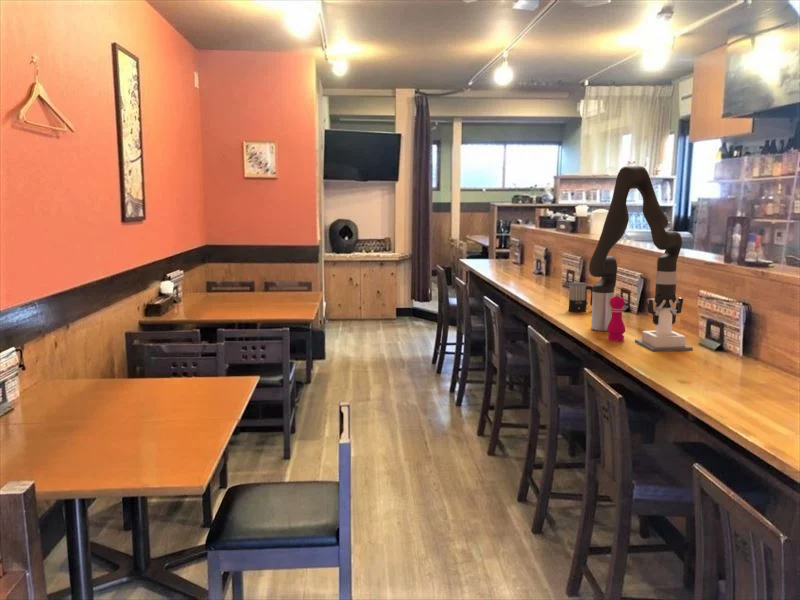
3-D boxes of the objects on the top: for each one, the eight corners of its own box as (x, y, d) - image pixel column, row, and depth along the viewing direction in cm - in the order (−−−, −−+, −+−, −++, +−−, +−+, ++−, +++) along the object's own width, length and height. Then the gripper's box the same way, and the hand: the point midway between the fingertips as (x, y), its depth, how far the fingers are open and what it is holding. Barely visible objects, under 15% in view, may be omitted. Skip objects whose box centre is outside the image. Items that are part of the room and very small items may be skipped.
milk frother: (573, 312, 321) (573, 284, 318) (558, 307, 336) (559, 280, 333) (597, 311, 324) (598, 283, 321) (582, 306, 339) (583, 279, 336)
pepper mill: (622, 337, 263) (624, 291, 260) (626, 341, 256) (628, 294, 253) (605, 337, 264) (606, 291, 260) (609, 341, 257) (610, 294, 253)
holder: (634, 341, 255) (635, 330, 254) (672, 340, 256) (673, 328, 255) (652, 351, 239) (653, 338, 239) (692, 349, 240) (693, 337, 239)
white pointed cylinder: (660, 307, 242) (654, 304, 248) (659, 336, 244) (653, 333, 250) (675, 306, 242) (669, 304, 248) (674, 336, 244) (667, 333, 250)
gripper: (678, 280, 248) (676, 321, 250) (643, 281, 247) (642, 322, 250) (688, 283, 240) (686, 325, 243) (652, 284, 239) (650, 326, 242)
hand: (663, 323), depth 246 cm, fingers closed on white pointed cylinder, 6 cm apart
